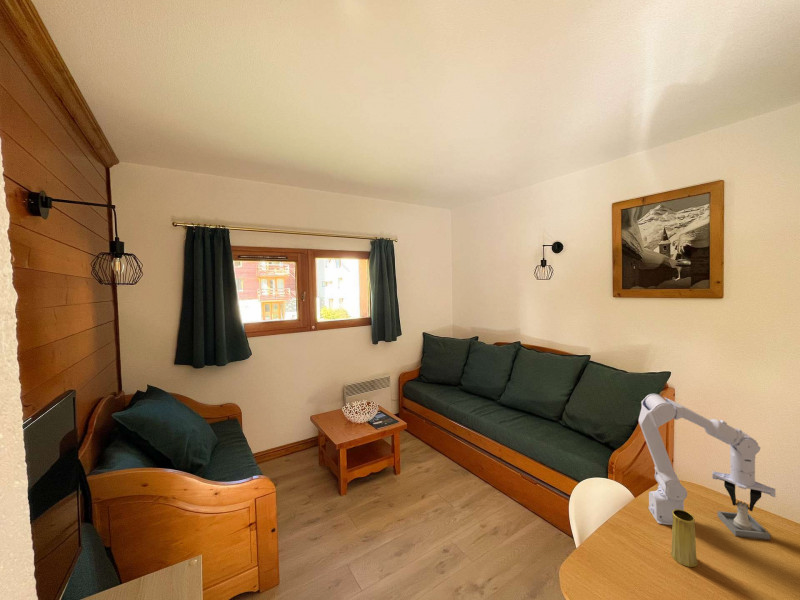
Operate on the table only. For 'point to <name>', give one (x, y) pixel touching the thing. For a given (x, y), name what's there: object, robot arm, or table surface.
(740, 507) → the rook chess piece
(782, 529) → the table surface
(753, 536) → the tray
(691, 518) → the vase
